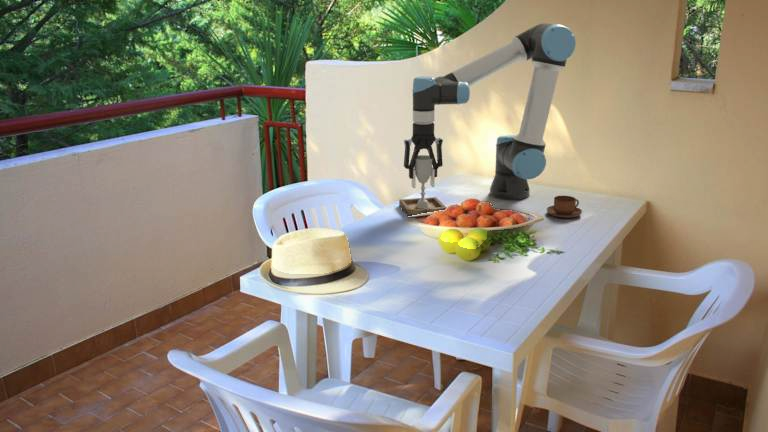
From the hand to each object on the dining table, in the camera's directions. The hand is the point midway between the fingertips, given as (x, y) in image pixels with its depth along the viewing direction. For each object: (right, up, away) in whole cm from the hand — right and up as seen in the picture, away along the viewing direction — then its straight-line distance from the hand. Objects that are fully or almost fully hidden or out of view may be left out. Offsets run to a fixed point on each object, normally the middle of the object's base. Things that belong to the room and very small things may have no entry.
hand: (423, 186), depth 246 cm
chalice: (0, -7, +2) cm, 8 cm away
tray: (0, -8, +3) cm, 9 cm away
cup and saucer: (+49, -10, -3) cm, 51 cm away
